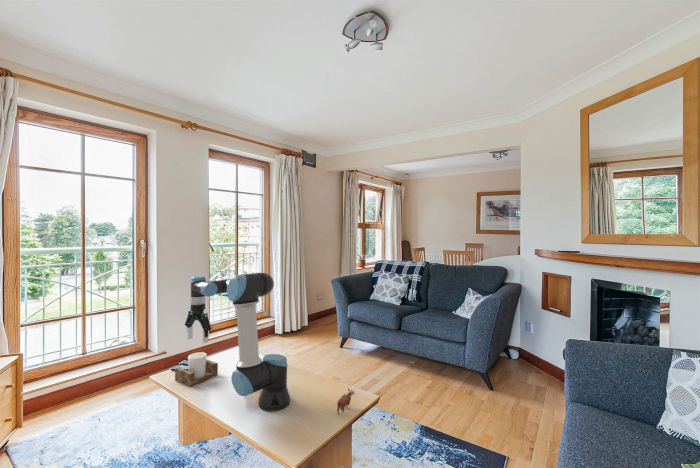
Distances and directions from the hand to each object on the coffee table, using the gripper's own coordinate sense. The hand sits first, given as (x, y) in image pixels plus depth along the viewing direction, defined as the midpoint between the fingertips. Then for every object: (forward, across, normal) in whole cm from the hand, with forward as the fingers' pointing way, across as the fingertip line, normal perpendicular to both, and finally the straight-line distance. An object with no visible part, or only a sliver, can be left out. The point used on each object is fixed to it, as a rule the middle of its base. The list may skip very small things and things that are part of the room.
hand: (197, 340), depth 182 cm
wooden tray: (+21, 0, 0) cm, 21 cm away
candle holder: (+21, 0, 0) cm, 21 cm away
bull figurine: (+22, -89, -16) cm, 93 cm away
